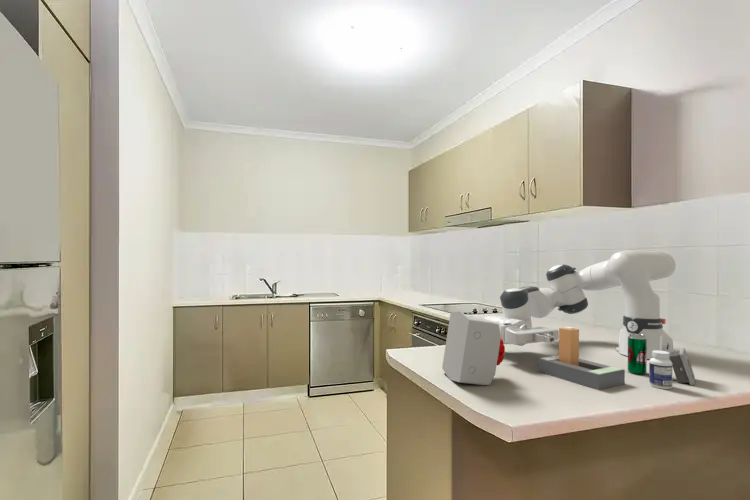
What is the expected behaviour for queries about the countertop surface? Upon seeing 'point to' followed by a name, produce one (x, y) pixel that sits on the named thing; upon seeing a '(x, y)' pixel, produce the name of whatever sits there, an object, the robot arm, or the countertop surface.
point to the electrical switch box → (472, 349)
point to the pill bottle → (660, 370)
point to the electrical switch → (682, 367)
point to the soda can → (637, 354)
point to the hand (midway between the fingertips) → (551, 339)
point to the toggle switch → (583, 372)
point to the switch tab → (569, 345)
